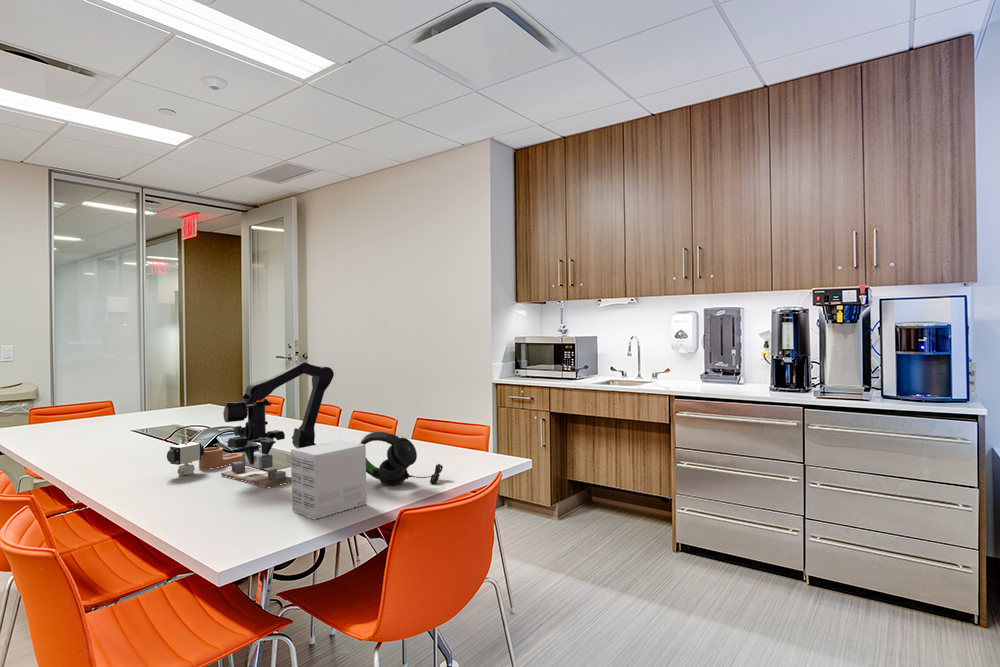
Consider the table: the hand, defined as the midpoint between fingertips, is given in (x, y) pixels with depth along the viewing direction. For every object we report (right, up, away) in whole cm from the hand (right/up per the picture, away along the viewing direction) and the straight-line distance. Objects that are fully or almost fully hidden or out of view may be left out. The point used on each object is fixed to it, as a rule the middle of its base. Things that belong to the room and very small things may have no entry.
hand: (257, 462), depth 193 cm
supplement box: (+36, -5, -34) cm, 50 cm away
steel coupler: (0, -1, 0) cm, 1 cm away
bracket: (-24, -6, +23) cm, 34 cm away
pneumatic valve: (-30, -6, +7) cm, 31 cm away
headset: (+52, -5, -9) cm, 53 cm away
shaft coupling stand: (0, -6, 0) cm, 6 cm away
